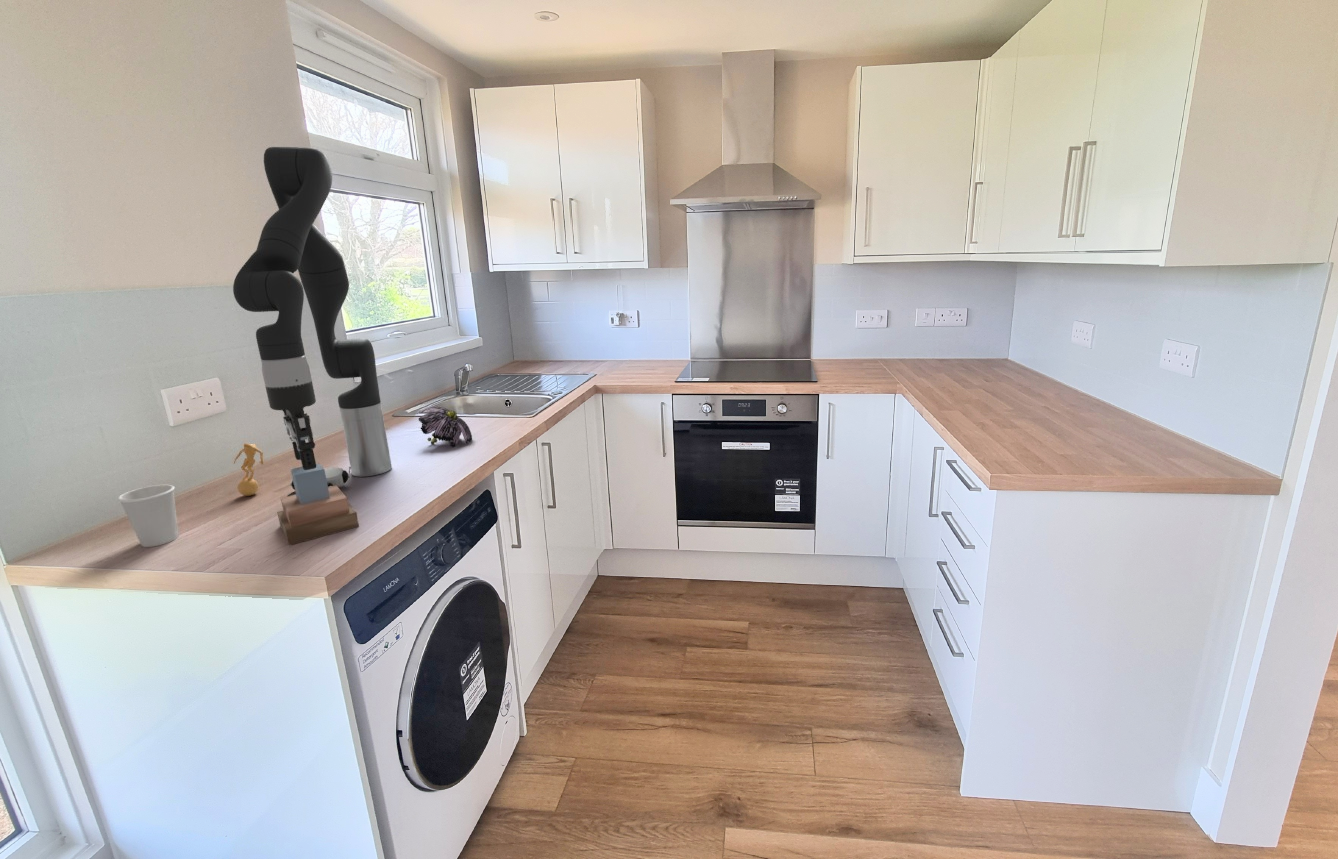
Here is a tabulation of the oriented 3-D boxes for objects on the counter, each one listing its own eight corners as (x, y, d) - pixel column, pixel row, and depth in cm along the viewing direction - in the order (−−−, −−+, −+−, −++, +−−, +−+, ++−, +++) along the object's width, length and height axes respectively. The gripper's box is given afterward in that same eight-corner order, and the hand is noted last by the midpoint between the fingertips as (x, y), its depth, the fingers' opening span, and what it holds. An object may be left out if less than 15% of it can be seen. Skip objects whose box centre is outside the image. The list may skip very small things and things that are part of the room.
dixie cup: (124, 553, 113) (109, 503, 111) (141, 536, 121) (127, 489, 118) (179, 544, 116) (166, 494, 114) (192, 528, 124) (180, 481, 121)
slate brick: (296, 497, 121) (290, 469, 119) (325, 491, 124) (319, 463, 122) (301, 504, 117) (294, 475, 115) (330, 497, 120) (324, 468, 118)
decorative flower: (449, 418, 165) (412, 398, 171) (436, 458, 167) (400, 437, 173) (487, 420, 178) (451, 402, 184) (475, 457, 180) (440, 437, 186)
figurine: (228, 497, 141) (215, 447, 137) (251, 488, 146) (240, 439, 143) (256, 499, 138) (244, 448, 135) (279, 489, 144) (268, 441, 141)
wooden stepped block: (280, 525, 123) (273, 497, 121) (345, 509, 130) (340, 482, 128) (289, 545, 114) (282, 515, 112) (358, 526, 121) (353, 498, 119)
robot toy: (346, 505, 135) (354, 480, 148) (342, 487, 133) (350, 462, 147) (282, 515, 131) (296, 488, 144) (277, 496, 130) (292, 470, 143)
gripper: (318, 383, 111) (335, 467, 115) (304, 373, 122) (320, 451, 126) (269, 390, 107) (289, 477, 111) (260, 379, 117) (278, 459, 122)
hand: (306, 463), depth 119 cm, fingers open, 8 cm apart
